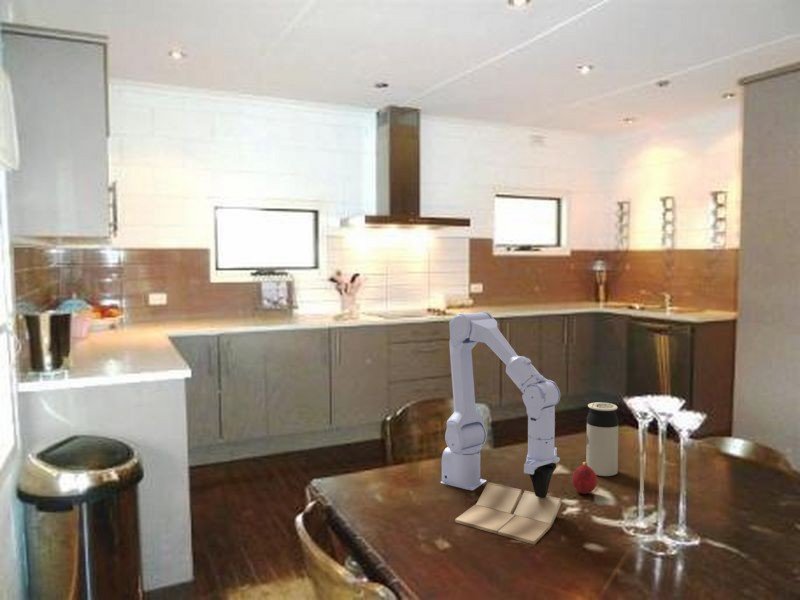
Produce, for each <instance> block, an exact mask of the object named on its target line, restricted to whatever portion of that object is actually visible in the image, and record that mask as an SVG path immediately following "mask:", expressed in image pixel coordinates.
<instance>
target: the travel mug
mask: <svg viewBox="0 0 800 600" xmlns="http://www.w3.org/2000/svg"><path fill="white" fill-rule="evenodd" d="M587 407H588V409H589V412H588V413H587V416H586V450H585V451H586V452H585V453H586V461H585V462H586V463H587V465H588V467H590V468H591V469H592V470H593V471H594V472H595V474H596V476H597V477H613V476H615V475H617V474H618V473H619V472H618V467H619V466H618V465H619V462H618V461H619V417H618V415H617V409H618V406H617V405H616V404H613V403H611V402H610V403H609V402H601V401H600V402H599V401H598V402H591V403H588V404H587Z"/></svg>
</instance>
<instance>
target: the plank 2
mask: <svg viewBox="0 0 800 600" xmlns="http://www.w3.org/2000/svg"><path fill="white" fill-rule="evenodd" d="M561 505H562V499H561V498H559V497H555V496H550V495H548V494H547V495H546V497H545V498H541V497H537V496H535V492H534V491H529V490H524V491H523V492H522V495H521V497H520V499H519V501H518V503H517V506H516V508H515V510H514V512H513V515H517V516H521V517H525V518H529V519H533V520H537V521H541V522H545V523H548V524H551V526H553V524H554V521H555V520H556V517H557V514H558V512H559V509H560V508H561Z"/></svg>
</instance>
